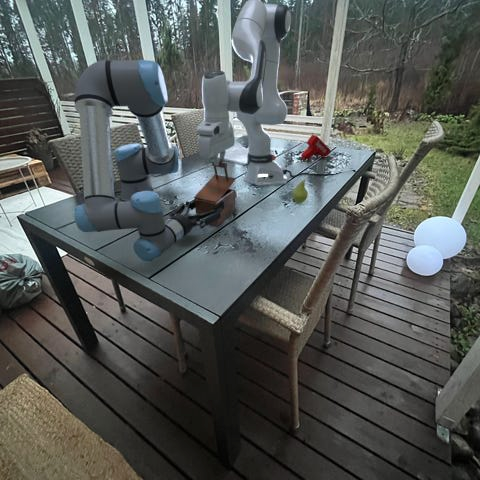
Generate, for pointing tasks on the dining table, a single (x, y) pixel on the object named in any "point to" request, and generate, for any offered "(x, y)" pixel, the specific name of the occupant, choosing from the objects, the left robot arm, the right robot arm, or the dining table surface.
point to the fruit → (300, 192)
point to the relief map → (236, 154)
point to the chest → (208, 206)
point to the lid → (215, 186)
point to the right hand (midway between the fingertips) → (219, 163)
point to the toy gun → (315, 148)
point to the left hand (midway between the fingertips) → (211, 202)
